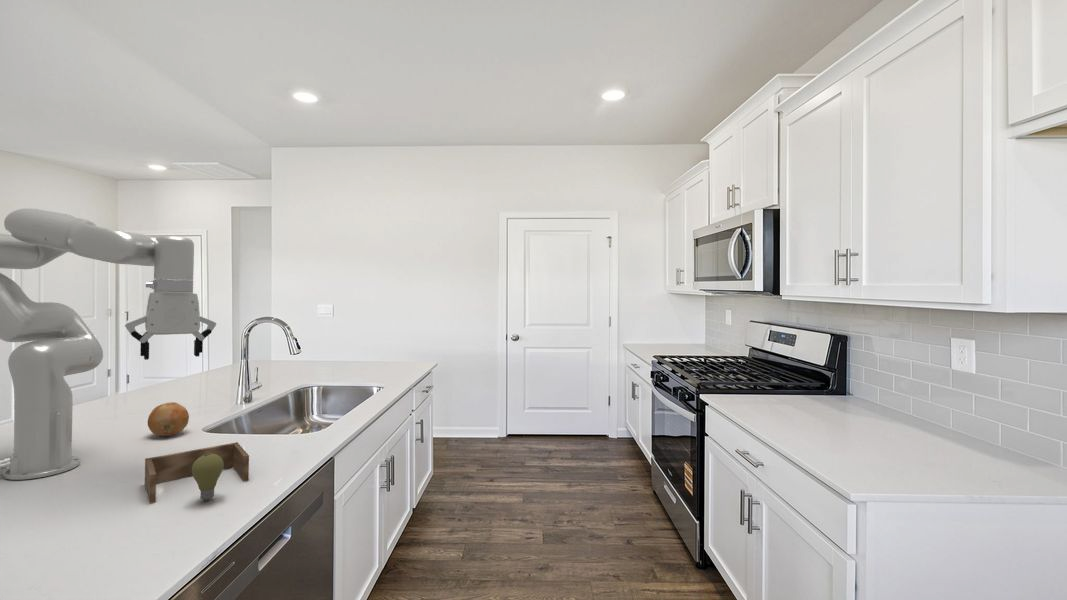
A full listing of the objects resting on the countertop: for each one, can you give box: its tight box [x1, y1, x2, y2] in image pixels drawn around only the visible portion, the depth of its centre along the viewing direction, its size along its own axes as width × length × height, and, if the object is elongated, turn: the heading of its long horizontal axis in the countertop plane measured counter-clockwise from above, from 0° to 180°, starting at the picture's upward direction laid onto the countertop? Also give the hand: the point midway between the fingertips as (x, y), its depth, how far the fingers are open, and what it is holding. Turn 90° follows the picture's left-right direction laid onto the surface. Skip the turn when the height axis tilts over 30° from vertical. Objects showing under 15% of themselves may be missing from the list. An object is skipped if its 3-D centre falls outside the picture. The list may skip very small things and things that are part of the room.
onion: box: [147, 401, 190, 437], centre depth 136 cm, size 10×10×10 cm
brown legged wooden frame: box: [144, 441, 250, 504], centre depth 105 cm, size 18×12×6 cm, turn 135°
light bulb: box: [192, 454, 224, 502], centre depth 97 cm, size 6×6×10 cm
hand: (172, 357), depth 110 cm, fingers open, 9 cm apart
